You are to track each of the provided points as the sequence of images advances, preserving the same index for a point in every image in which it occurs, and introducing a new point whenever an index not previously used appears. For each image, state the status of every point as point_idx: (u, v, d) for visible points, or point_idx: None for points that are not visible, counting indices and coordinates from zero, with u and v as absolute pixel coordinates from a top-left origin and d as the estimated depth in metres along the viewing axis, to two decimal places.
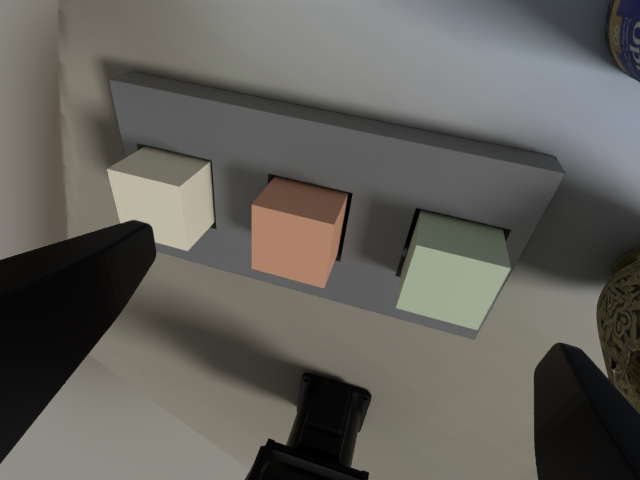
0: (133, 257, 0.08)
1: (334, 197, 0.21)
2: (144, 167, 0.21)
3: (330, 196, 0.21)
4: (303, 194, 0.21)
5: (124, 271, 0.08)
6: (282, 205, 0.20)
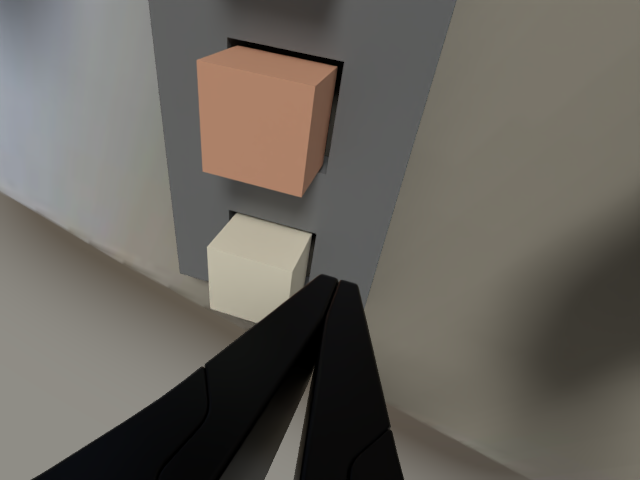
0: None
1: None
2: None
3: None
4: None
5: None
6: None
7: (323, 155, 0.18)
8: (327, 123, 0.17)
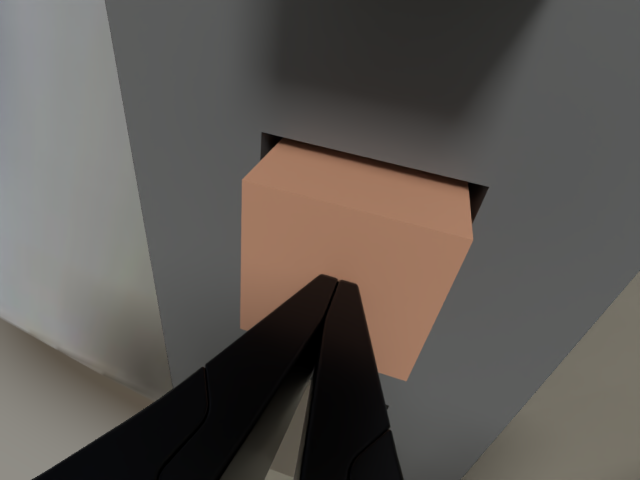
0: None
1: None
2: None
3: None
4: None
5: None
6: None
7: None
8: None
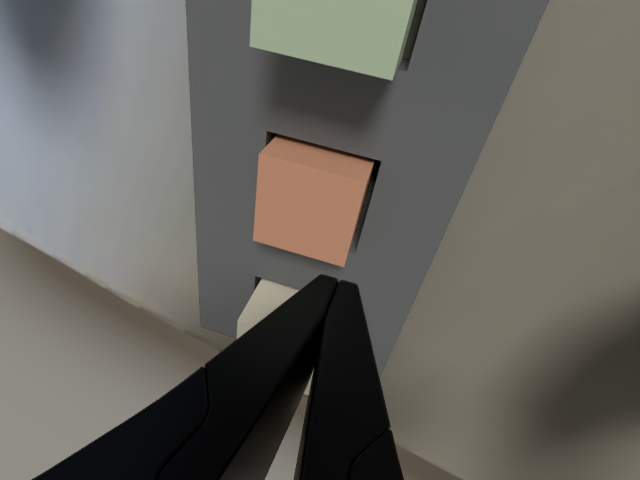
0: None
1: None
2: None
3: None
4: None
5: None
6: None
7: (358, 221, 0.20)
8: (365, 196, 0.18)
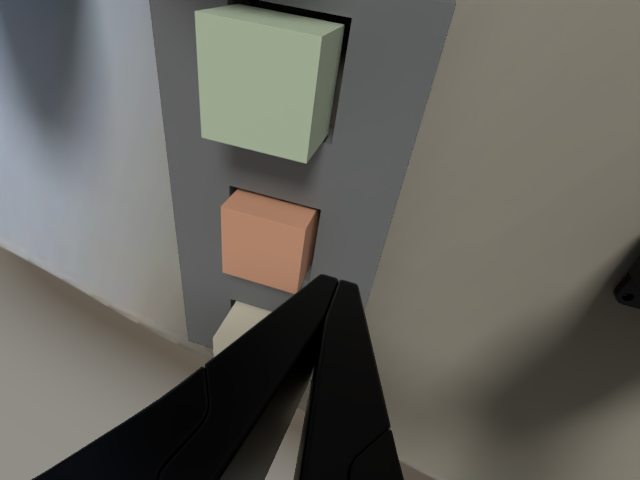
0: None
1: None
2: None
3: None
4: None
5: None
6: None
7: None
8: (316, 233, 0.22)
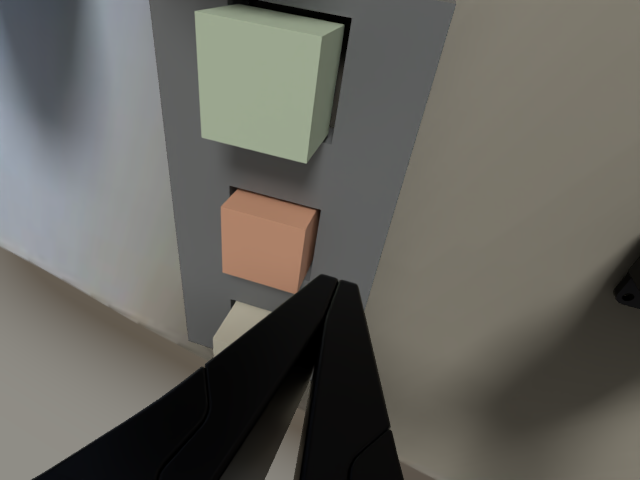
0: None
1: None
2: None
3: None
4: None
5: None
6: None
7: None
8: (316, 233, 0.22)
